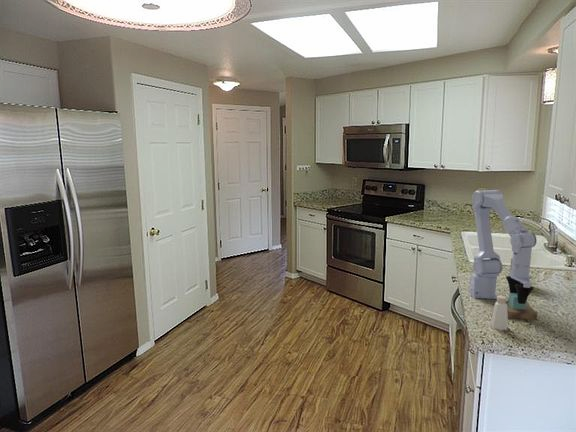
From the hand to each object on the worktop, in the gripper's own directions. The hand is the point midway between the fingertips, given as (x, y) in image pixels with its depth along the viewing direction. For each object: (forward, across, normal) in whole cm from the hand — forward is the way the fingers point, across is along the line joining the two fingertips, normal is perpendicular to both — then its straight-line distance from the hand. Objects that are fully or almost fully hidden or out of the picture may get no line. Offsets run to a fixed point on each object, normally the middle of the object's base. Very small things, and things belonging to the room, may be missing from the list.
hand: (517, 299), depth 149 cm
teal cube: (+3, 0, 0) cm, 3 cm away
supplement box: (+6, +32, -11) cm, 34 cm away
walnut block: (+5, 0, 0) cm, 5 cm away
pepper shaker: (+6, -13, +10) cm, 17 cm away
